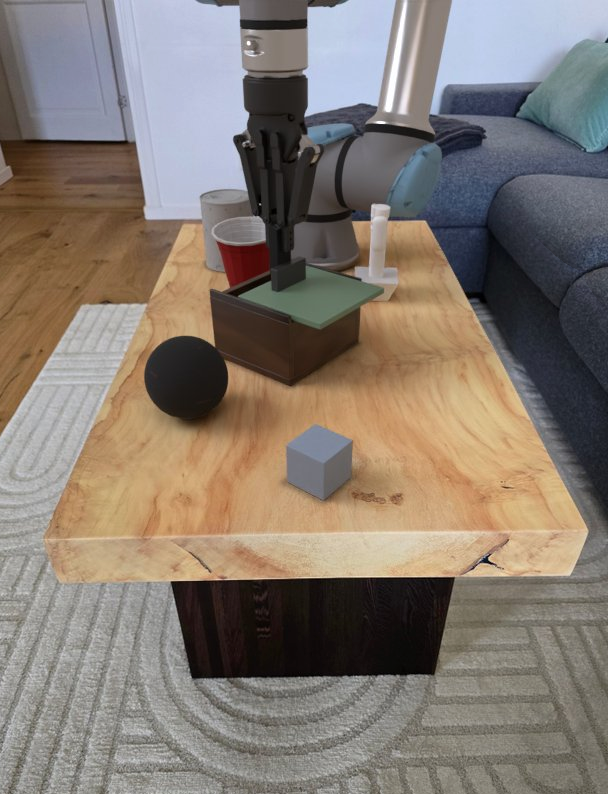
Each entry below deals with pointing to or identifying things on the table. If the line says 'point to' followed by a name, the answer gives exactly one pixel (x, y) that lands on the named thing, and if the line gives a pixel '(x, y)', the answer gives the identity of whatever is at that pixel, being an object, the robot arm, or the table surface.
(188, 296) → the table surface
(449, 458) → the table surface
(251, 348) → the walnut box
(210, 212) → the grey tin can
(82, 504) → the table surface
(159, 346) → the speaker
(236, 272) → the plastic cup
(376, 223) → the figurine
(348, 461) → the block
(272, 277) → the slide door
